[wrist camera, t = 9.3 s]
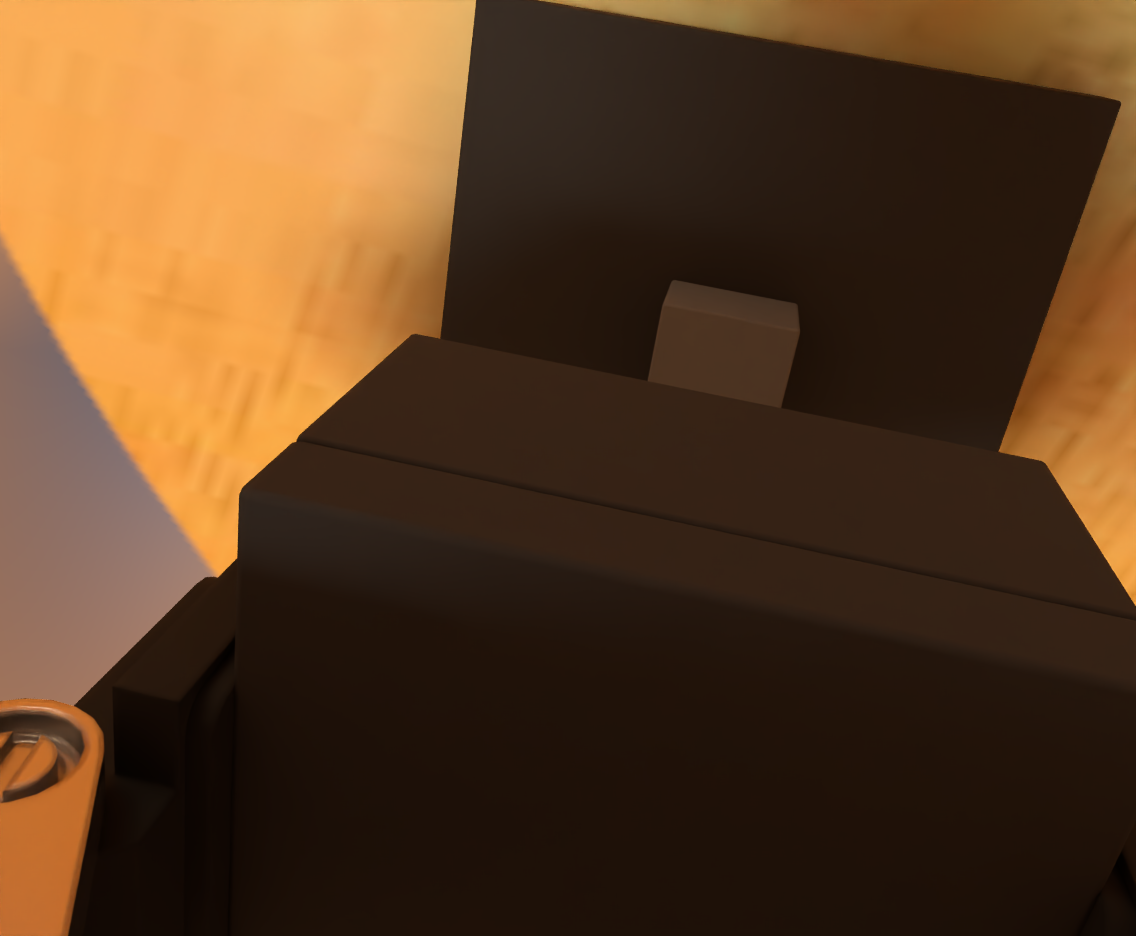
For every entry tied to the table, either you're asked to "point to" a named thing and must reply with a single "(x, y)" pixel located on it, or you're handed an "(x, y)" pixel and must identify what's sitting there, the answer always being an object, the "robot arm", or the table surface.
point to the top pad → (664, 671)
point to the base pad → (763, 217)
